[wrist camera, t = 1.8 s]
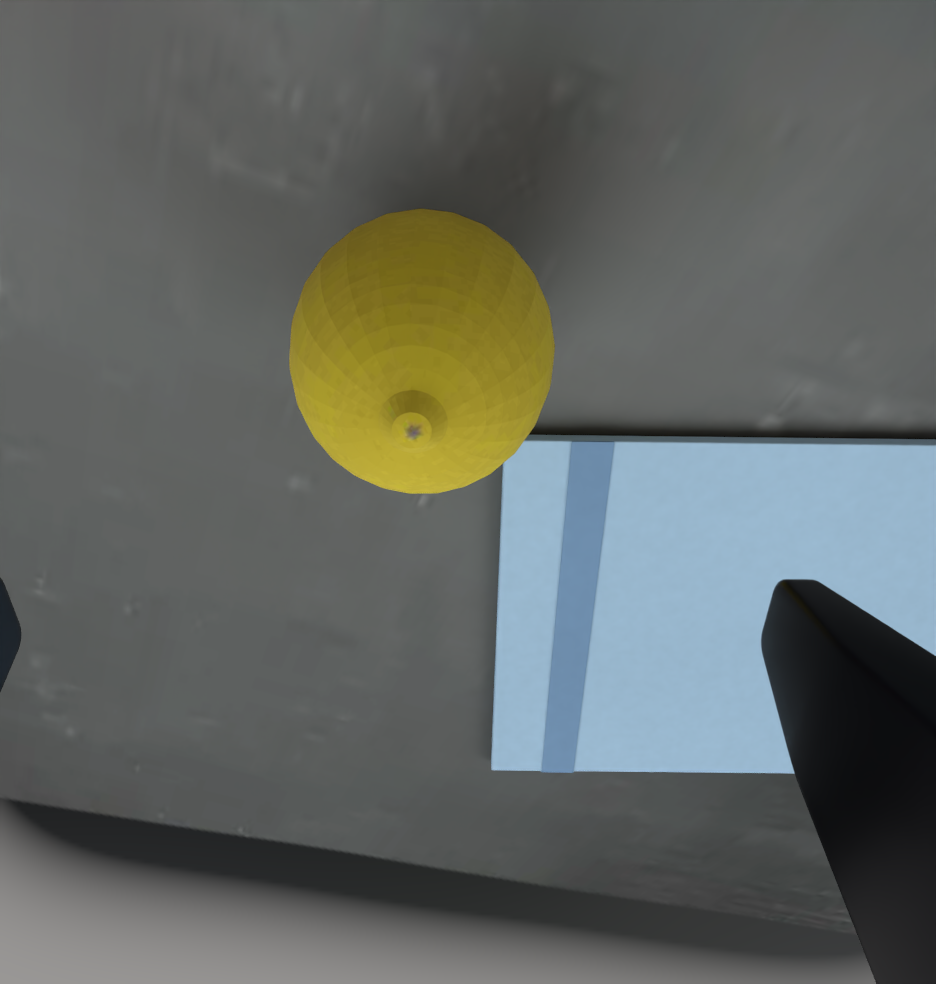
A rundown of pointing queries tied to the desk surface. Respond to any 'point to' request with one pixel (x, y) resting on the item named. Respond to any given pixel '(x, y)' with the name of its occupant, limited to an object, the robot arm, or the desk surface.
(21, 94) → the desk surface
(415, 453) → the lemon
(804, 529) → the cloth
